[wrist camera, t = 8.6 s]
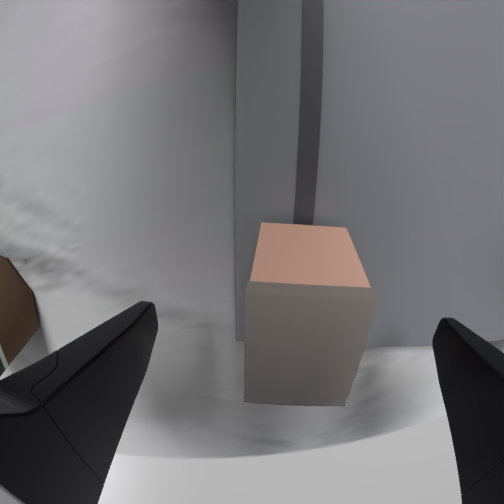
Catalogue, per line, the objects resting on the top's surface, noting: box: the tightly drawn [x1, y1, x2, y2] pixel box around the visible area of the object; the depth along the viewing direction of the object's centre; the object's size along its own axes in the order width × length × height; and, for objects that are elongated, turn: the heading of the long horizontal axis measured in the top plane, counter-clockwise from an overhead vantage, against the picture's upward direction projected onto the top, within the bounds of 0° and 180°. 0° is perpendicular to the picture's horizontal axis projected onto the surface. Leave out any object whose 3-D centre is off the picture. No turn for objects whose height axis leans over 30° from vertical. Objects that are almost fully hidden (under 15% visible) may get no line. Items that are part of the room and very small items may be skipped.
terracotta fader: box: [244, 222, 378, 406], centre depth 10 cm, size 4×3×4 cm
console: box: [235, 0, 504, 346], centre depth 11 cm, size 18×19×2 cm
